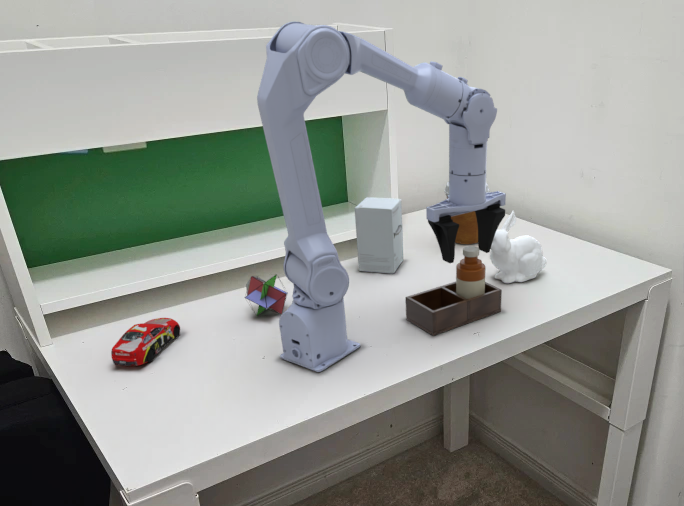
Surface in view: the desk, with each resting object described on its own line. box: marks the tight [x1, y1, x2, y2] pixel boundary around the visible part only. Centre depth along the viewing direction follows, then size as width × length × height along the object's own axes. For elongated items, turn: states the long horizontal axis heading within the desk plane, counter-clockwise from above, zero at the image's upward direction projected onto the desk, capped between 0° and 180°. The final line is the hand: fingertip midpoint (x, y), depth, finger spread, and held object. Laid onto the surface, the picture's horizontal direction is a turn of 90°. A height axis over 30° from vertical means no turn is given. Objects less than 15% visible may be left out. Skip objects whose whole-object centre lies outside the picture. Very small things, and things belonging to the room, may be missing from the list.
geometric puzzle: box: [243, 273, 289, 318], centre depth 110 cm, size 7×7×8 cm
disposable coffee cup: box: [443, 181, 491, 245], centre depth 140 cm, size 10×10×12 cm
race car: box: [110, 317, 181, 367], centre depth 100 cm, size 13×5×4 cm, turn 170°
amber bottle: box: [455, 245, 486, 299], centre depth 109 cm, size 5×5×10 cm
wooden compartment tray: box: [405, 281, 503, 337], centre depth 110 cm, size 14×8×4 cm, turn 128°
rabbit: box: [489, 210, 548, 284], centre depth 123 cm, size 12×9×12 cm
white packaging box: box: [354, 196, 404, 275], centre depth 126 cm, size 7×7×13 cm
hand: (466, 256), depth 108 cm, fingers open, 7 cm apart
